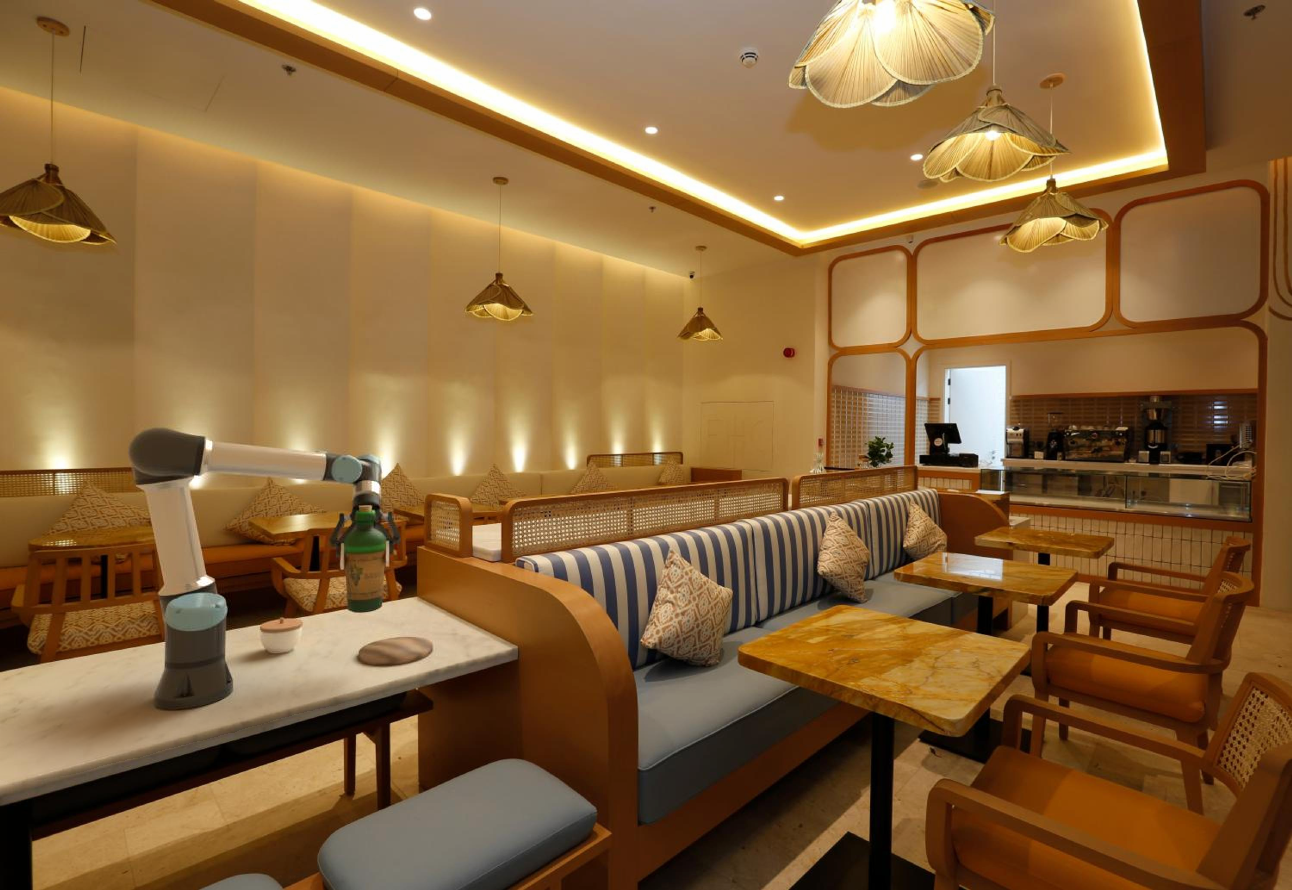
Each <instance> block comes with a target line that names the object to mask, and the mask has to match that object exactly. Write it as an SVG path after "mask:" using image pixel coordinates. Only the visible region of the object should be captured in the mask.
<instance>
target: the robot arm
mask: <svg viewBox="0 0 1292 890" xmlns="http://www.w3.org/2000/svg"><path fill="white" fill-rule="evenodd" d="M127 448H128V449H127V450H128V451H127V454H128V459H129V461H130V465H131V469H132V475H133V479H134V484H135V487H137V488H138V489H140V490H142V491H143V492H145V497H146V503H147V506H148V507H147V508H148V511H149V515H150V516H149V517H150V521H151V526H152V531H153V535H154V540H155V546H156V551H157V555H158V559H159V565H160V569H161V575H162V578H163V579H162V580H163V583H164V584H163V586H162V587H161V588H160V590H159V591H158V592H157V595H158V600H159V604H160V609H161V613H162V615H161V616H162V621H163V624H164V625H163V626H164V669H163V671H162V674H161V677H160V680H159V681H158V685H157V686H156V689H155V691H154V694H153V695H154V696H153V705H154V707H156V708H157V709H161V710H170V711H171V710H172V711H173V710H174V711H175V710H185V709H192V708H198V707H201V706H205V705H210V704H212V703H215V702H217V701H220V700H222V699H224V698H226V697H228V696H229V695H231V694H232V693H233V691H234V679H233V676H232V673H231V671H230V668H229V666H228V663H227V660H226V643H227V641H226V639H227V638H226V635H227V634H226V633H227V631H226V630H227V613H228V606H227V601H226V598H225V597H224V596H222V595H220V594H218V589H217V584H216V579H215V578H213V577H212V576H210V575H207V572H206V566H205V562H204V557H203V551H202V547H201V542H200V535H199V531H198V527H197V522H196V515H195V511H194V507H193V501H192V496H191V492H190V491H191V490H190V483H191V482H192V481H193V480H194V479H195V477H197V476H198V477H202V476H203V475H205V474H206V473H213V474H223V475H224V474H225V475H226V474H227V475H237V476H238V475H239V476H240V475H241V476H253V477H263V478H264V477H266V478H279V479H290V480H291V479H292V480H305V481H306V480H307V481H319V482H332V483H340V484H344V485H345V484H349V485H352V504H351V507H352V509H351V513H350V514H345V513H343V512H341V513H339V515H338V518H339V520H338V522H337V524H336V526H335V528H334V530H333V532H332V533H331V536H330V538H329V540H328V541H329V547H330V548H334V547H335V550H336V551H335V556H336V558H338V559H339V558H340V562H339V566H340V570H345V554H344V540H345V539H346V537H347V536H348V534H350V533H351V532H353V531H354V530H357V520H354V519H355V515H356V511H359V506H365V505H370V506H372V508H371V510H375V515H376V519H375V520H374V525H373V529H377V530H379V531H380V532H382V533H383V534H384V536H385V537H386V549H385V567H386V568H387V567H390V556H391V555H394V551H395V549H394V545H395V544H400V543H401V535H400V532H399V529H398V527H397V525H396V523H395V521H394V519H393V518H394V517H393V516H394V513H393V511H391V510H390V511H388V512H387V513H384V512H382V473H383V471H382V463H381V462H382V461H381V460H380V458H379V457H377V456H376V455H374V454H370V453H369V454H361V455H358V456H357V457H355V456H353V455H350V454H348V455H347V454H339V453H338V454H337V453H333V452H329V451H325V450H324V451H323V450H318V449H317V450H315V451H307V450H299V449H288V448H280V447H279V448H278V447H270V446H259V445H251V444H250V445H249V444H242V443H241V444H240V443H231V442H223V441H213V440H210V439H209V438H208V436H206V435H204V436H203V435H195V434H190V433H186V432H180V431H177V430H175V429H172V428H169V427H157V426H156V427H151V428H146V429H143V430H142V431H139V432H138V433H136V434H135V435H134V437H133V438H132V439H131V441H130V442H129V445H128V447H127ZM382 519H383V520H384V521H385V522H386V523H387V524H388V527H389V529H390V533H391V534H392V535H391V534H390V533H389V531H388V529H386V528H385V526H384V525H383V524H382V523H381V520H382ZM349 520H350V521H351V524H350V525H349V527H347V529H346V530H345V531H344V532H343V533H342V531H343V529H344V527H345V524H347V523H348V521H349ZM341 534H342V535H341ZM340 535H341V536H340Z"/></svg>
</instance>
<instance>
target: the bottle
mask: <svg viewBox="0 0 1292 890" xmlns="http://www.w3.org/2000/svg"><path fill="white" fill-rule="evenodd" d="M371 508H372V506H370V505H365V506H359V511H356V515H355V519H354V520H357V530H354V531H353V532H351V533H350V534H348V536H347V537H346V539H345V540H344V554H345V557H344V570H345V571H344V572H345V585H346V601H347V603H346V605H347V611H349V612H351V613H357V614H358V613H359V614H364V613H371V612H374V611H376V610H379V609H380V608H382V607H383V594H384V578H385V566H386V537H385V536H384V534H383V533H382V532H380V531H379V530H377V529H375V528H374V527H373V525H374V520H375V519H376V515H375V510H371Z"/></svg>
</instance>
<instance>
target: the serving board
mask: <svg viewBox="0 0 1292 890" xmlns="http://www.w3.org/2000/svg"><path fill="white" fill-rule="evenodd" d="M433 645H434V644H433V642H432V641H431V640H429V639H427V638H422V637H417V636H416V637H415V636H398V637H396V636H395V637H390V638H384V639H380V640H375V641H372V642H370V643H367V644H365V645H363V646H362V647H361V648H360V649H359V650H358V659H359V661H360V662H362V663H364V664H367V665H371V666H384V667H385V666H397V665H404V664H410V663H414V662H417V661H420V660H422V659H425V658H426V657H429V656H430V655H431V654H432V653H433V650H434V646H433Z"/></svg>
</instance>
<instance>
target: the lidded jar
mask: <svg viewBox="0 0 1292 890" xmlns="http://www.w3.org/2000/svg"><path fill="white" fill-rule="evenodd" d="M303 623H304V622H303V620H302V619H299V618H284V617H280V618H279V619H275V620H274V619H273V620H269V621H266V622H264V623H261V625H260V626H259V630H260V633H259V634H260V637H259V638H260V641H261V644H262V646H263V648H264V649H266V650H267V651H268V653H269V654H283V653H288V652H290V651H293V649H294V648H295V647H296V646H297V645H298V644H299V641H300V640H301V638H302V632H303Z"/></svg>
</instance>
